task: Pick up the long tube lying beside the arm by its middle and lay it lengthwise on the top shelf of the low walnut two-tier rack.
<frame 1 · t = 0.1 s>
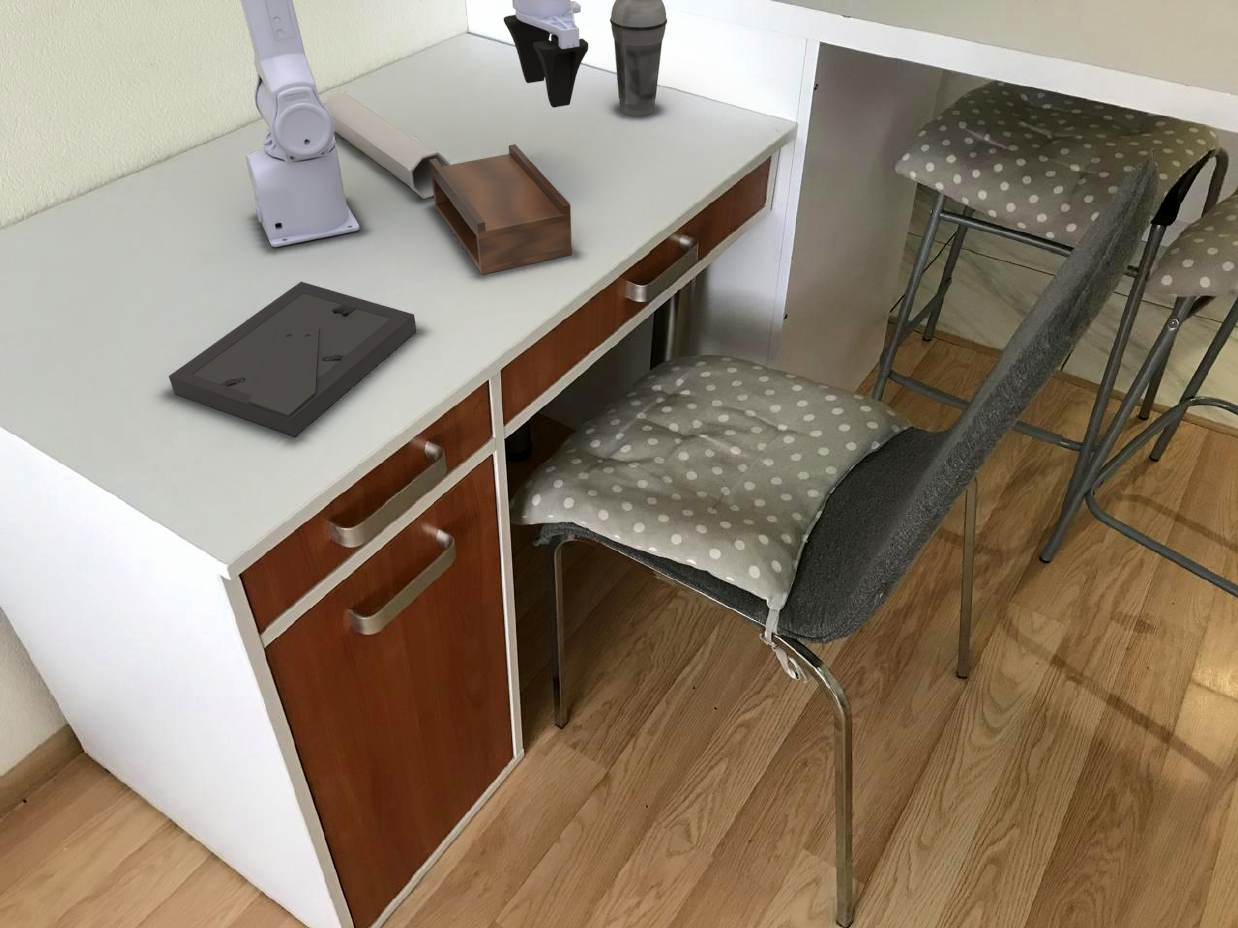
hand: (547, 93, 119), 10 cm above the table, tool pointing down, fingers open, 7 cm apart
beverage cup: (636, 111, 141), on the table
tube: (382, 160, 129), on the table
rack: (501, 230, 115), on the table
picture frame: (300, 363, 96), on the table
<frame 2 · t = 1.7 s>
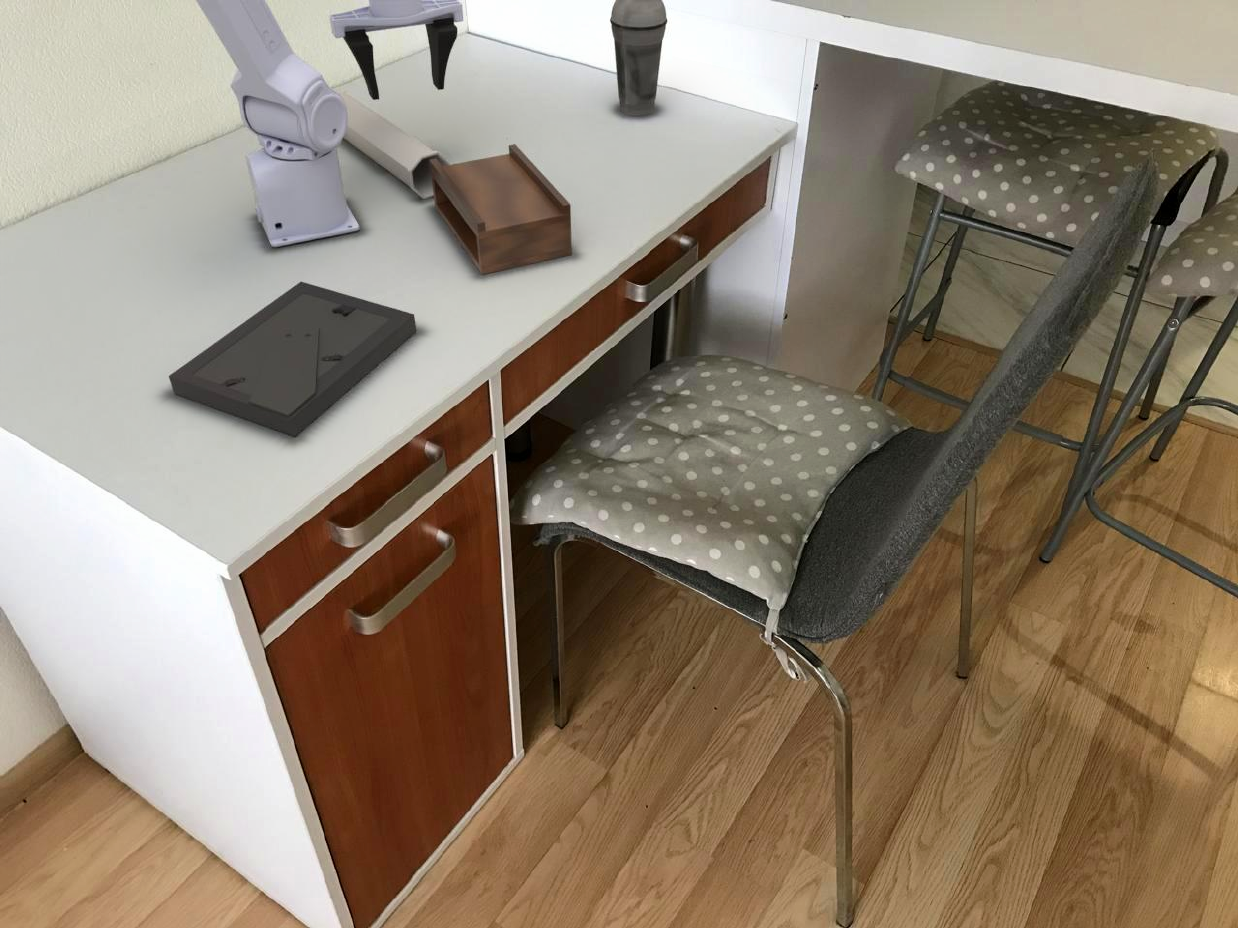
hand: (406, 91, 122), 9 cm above the table, tool pointing down, fingers open, 7 cm apart
nothing on the table moved.
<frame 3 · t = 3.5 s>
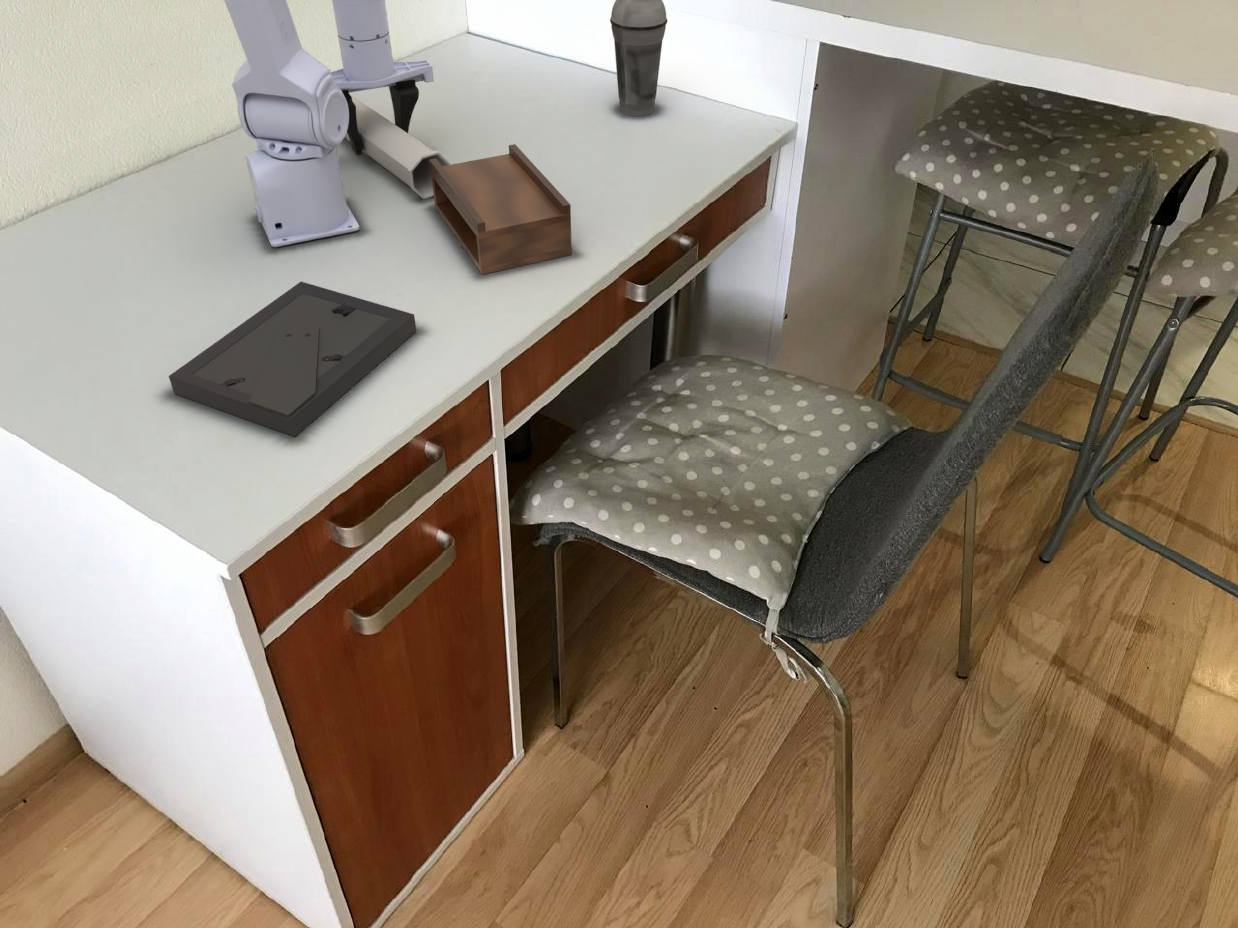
hand: (380, 147, 128), 1 cm above the table, tool pointing down, fingers closed on tube, 5 cm apart
tube: (383, 160, 129), on the table, touching gripper
everything else where it was.
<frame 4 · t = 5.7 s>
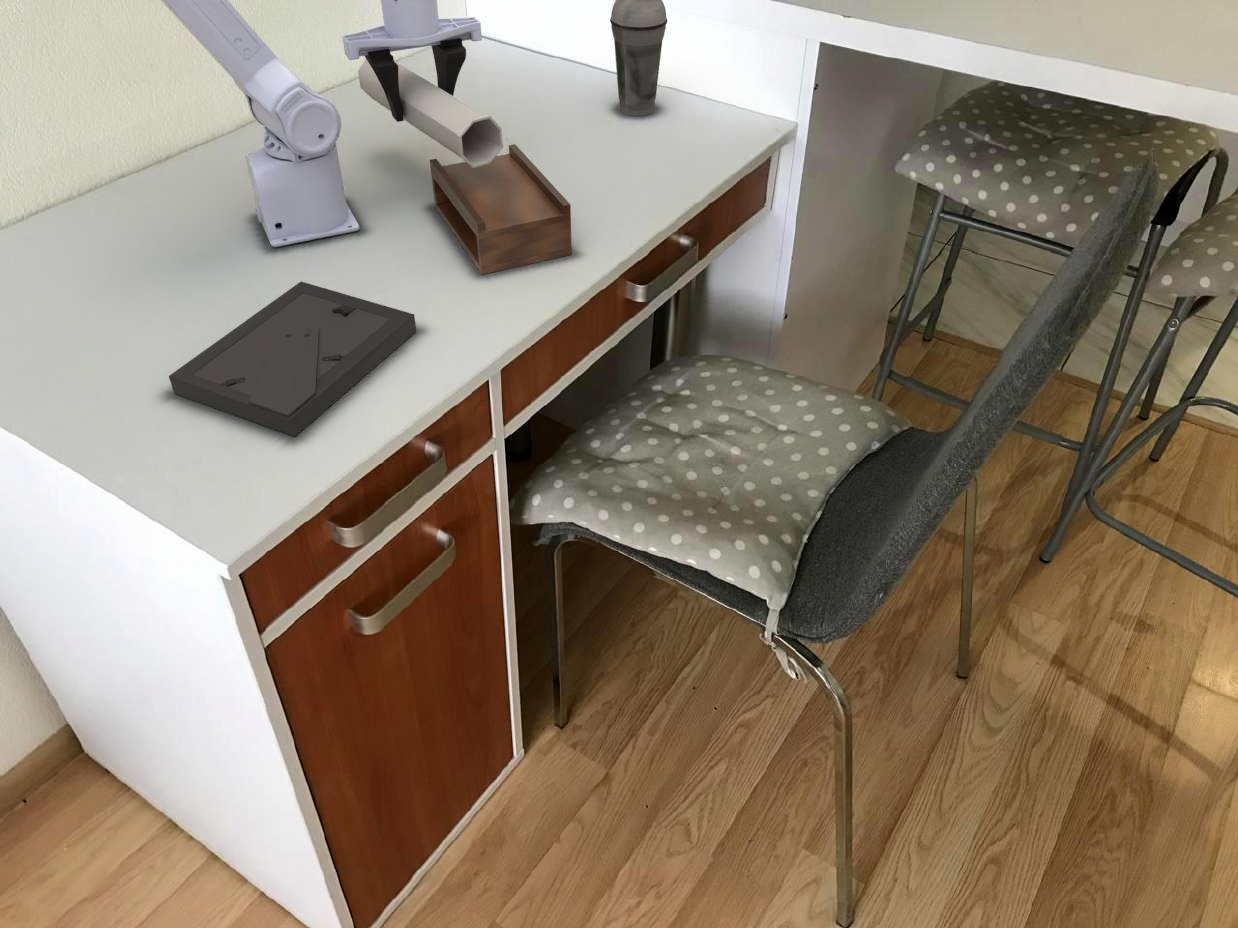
hand: (422, 114, 117), 9 cm above the table, tool pointing down, fingers closed on tube, 5 cm apart
tube: (424, 128, 118), point 7 cm above the table, touching gripper
everything else where it was.
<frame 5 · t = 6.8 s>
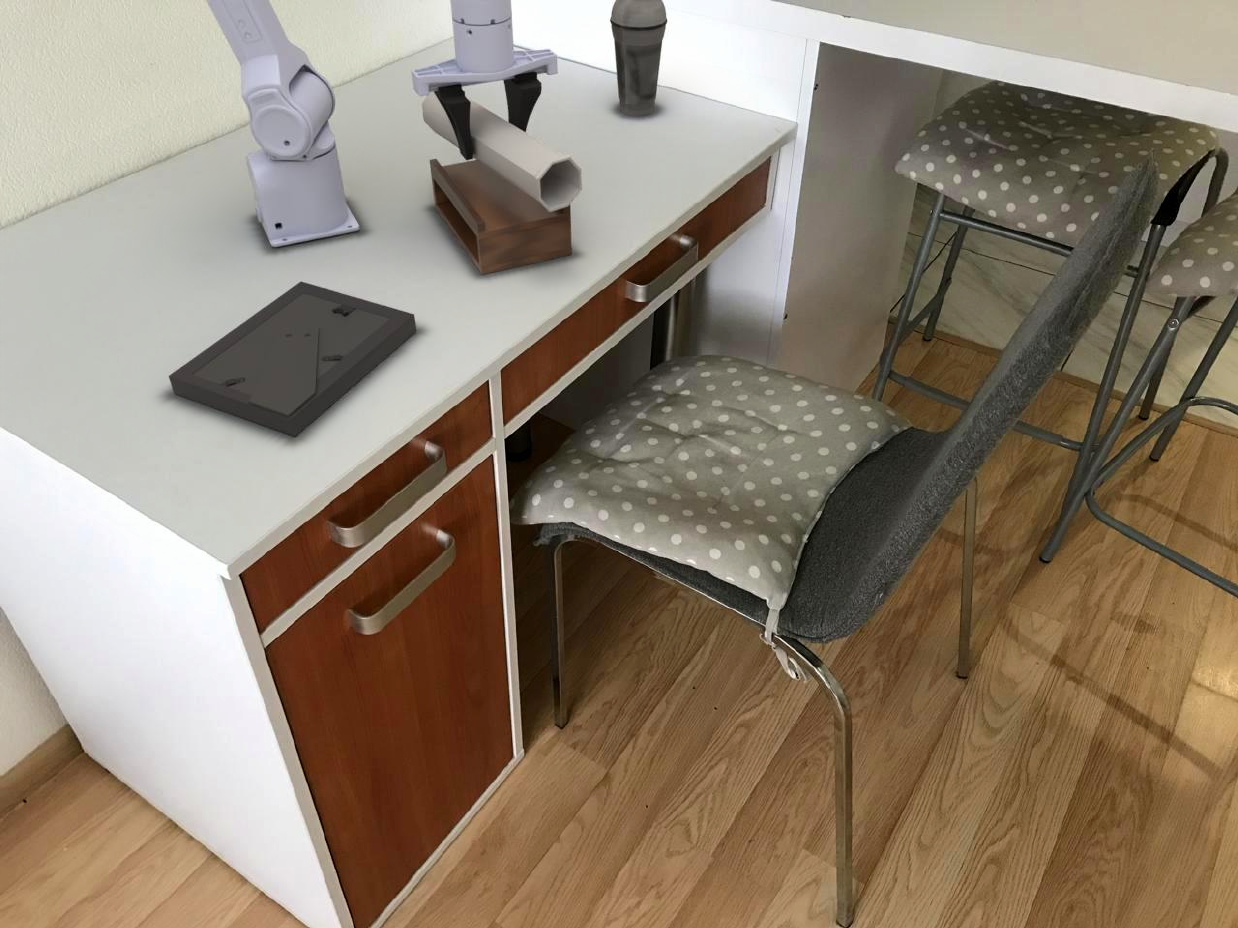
hand: (492, 151, 110), 9 cm above the table, tool pointing down, fingers closed on tube, 5 cm apart
tube: (494, 165, 111), point 7 cm above the table, touching gripper
everything else where it was.
when the fingers open (7 cm above the table, at t = 8.0 s): tube stays where it is, resting on rack.
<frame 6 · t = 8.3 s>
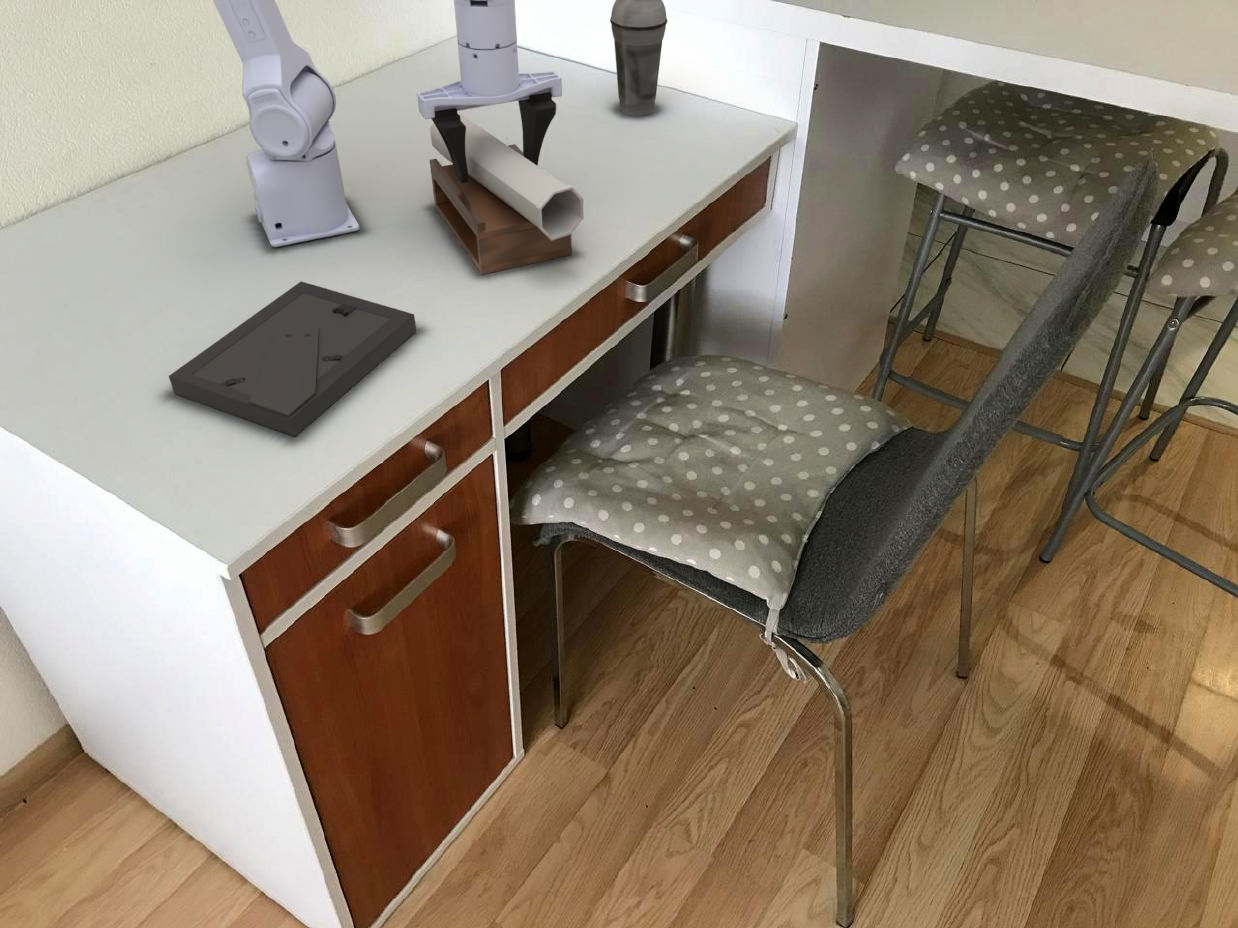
hand: (496, 172, 111), 7 cm above the table, tool pointing down, fingers open, 7 cm apart
tube: (499, 191, 112), point 5 cm above the table, touching rack
everything else where it was.
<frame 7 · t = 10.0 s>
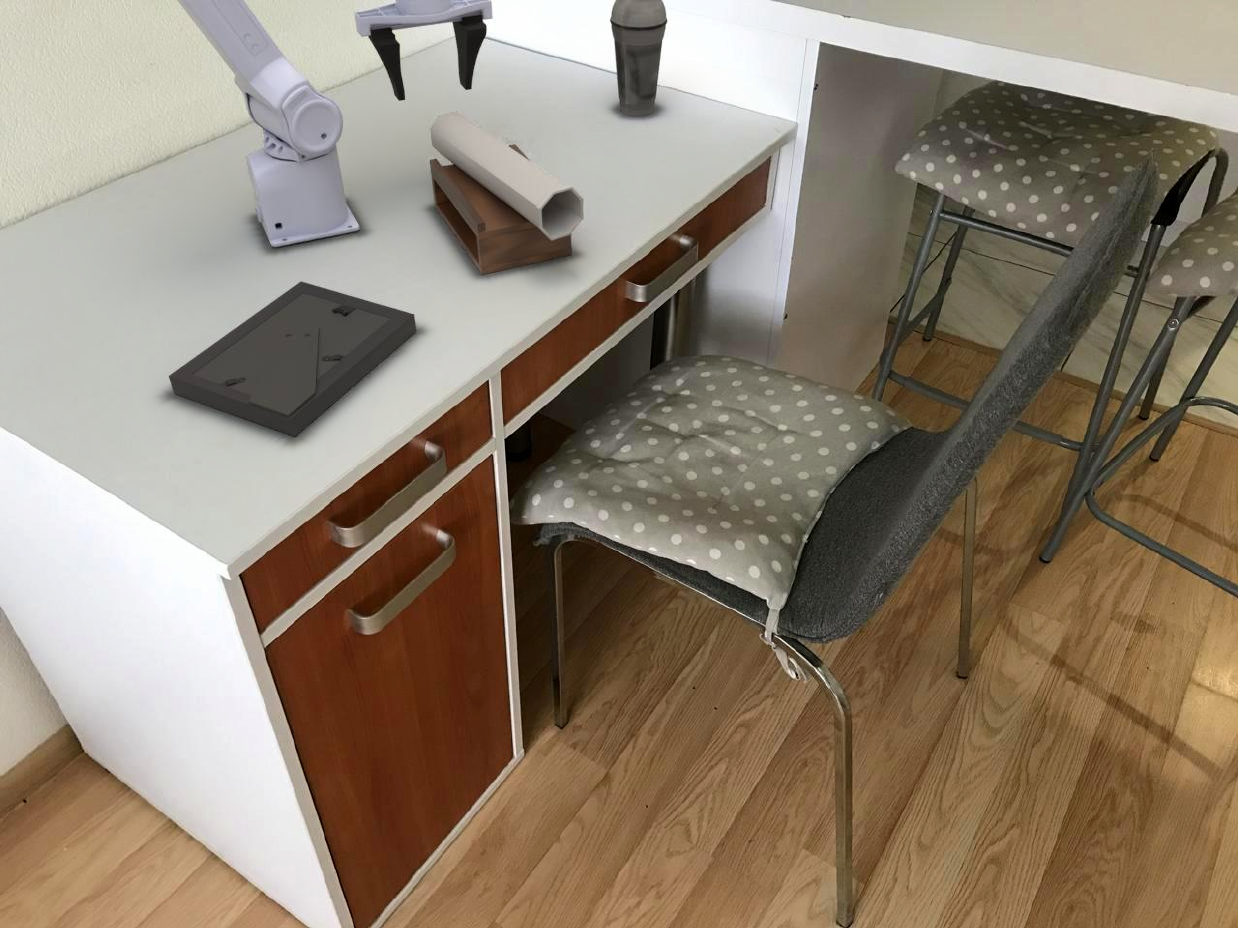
hand: (433, 92, 118), 10 cm above the table, tool pointing down, fingers open, 7 cm apart
nothing on the table moved.
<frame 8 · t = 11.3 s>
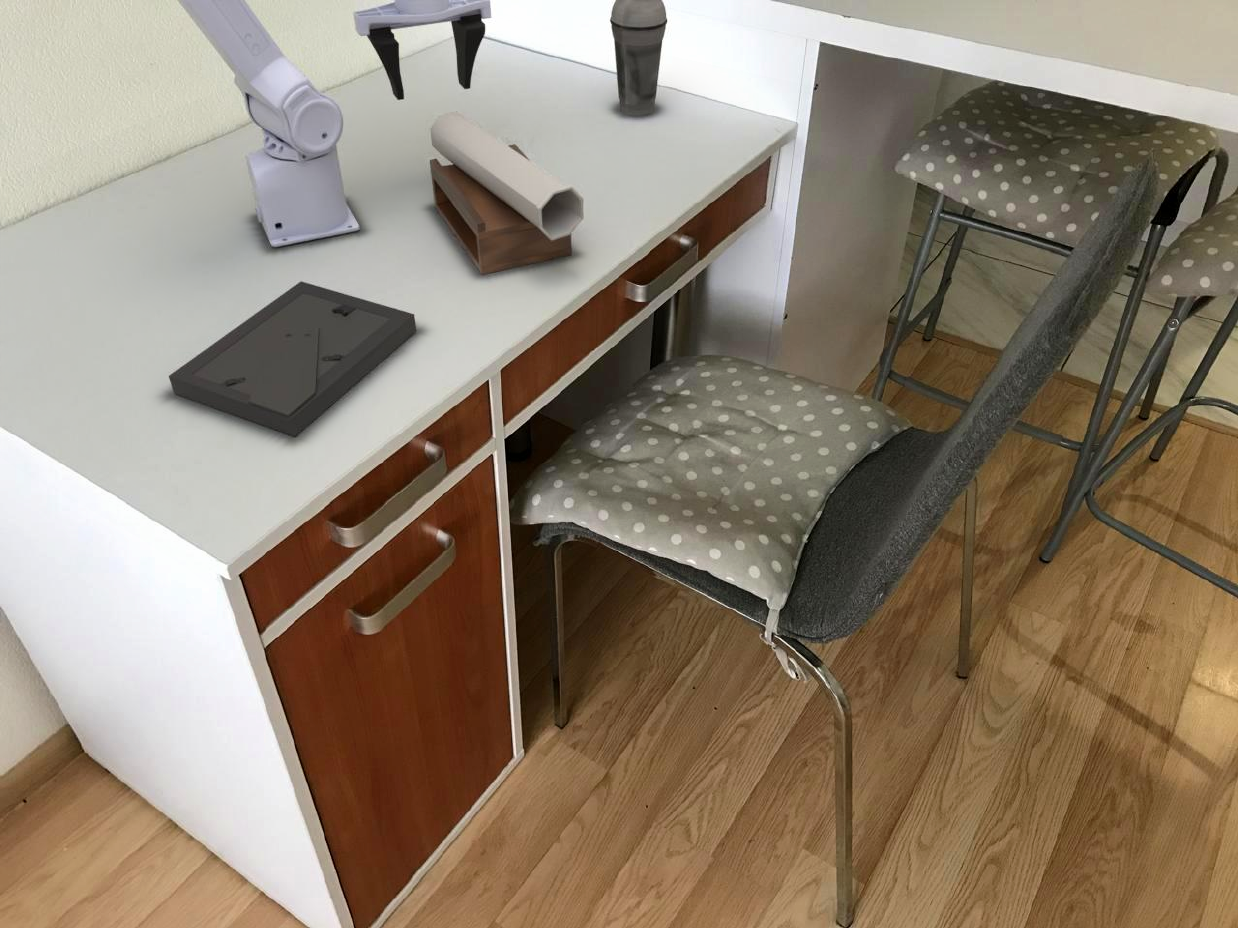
hand: (432, 91, 118), 10 cm above the table, tool pointing down, fingers open, 7 cm apart
nothing on the table moved.
at the end: tube inside the target area on the rack (0.1 cm from its centre), point 4.6 cm above the rack's base; tube touching rack; the gripper is holding nothing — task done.
